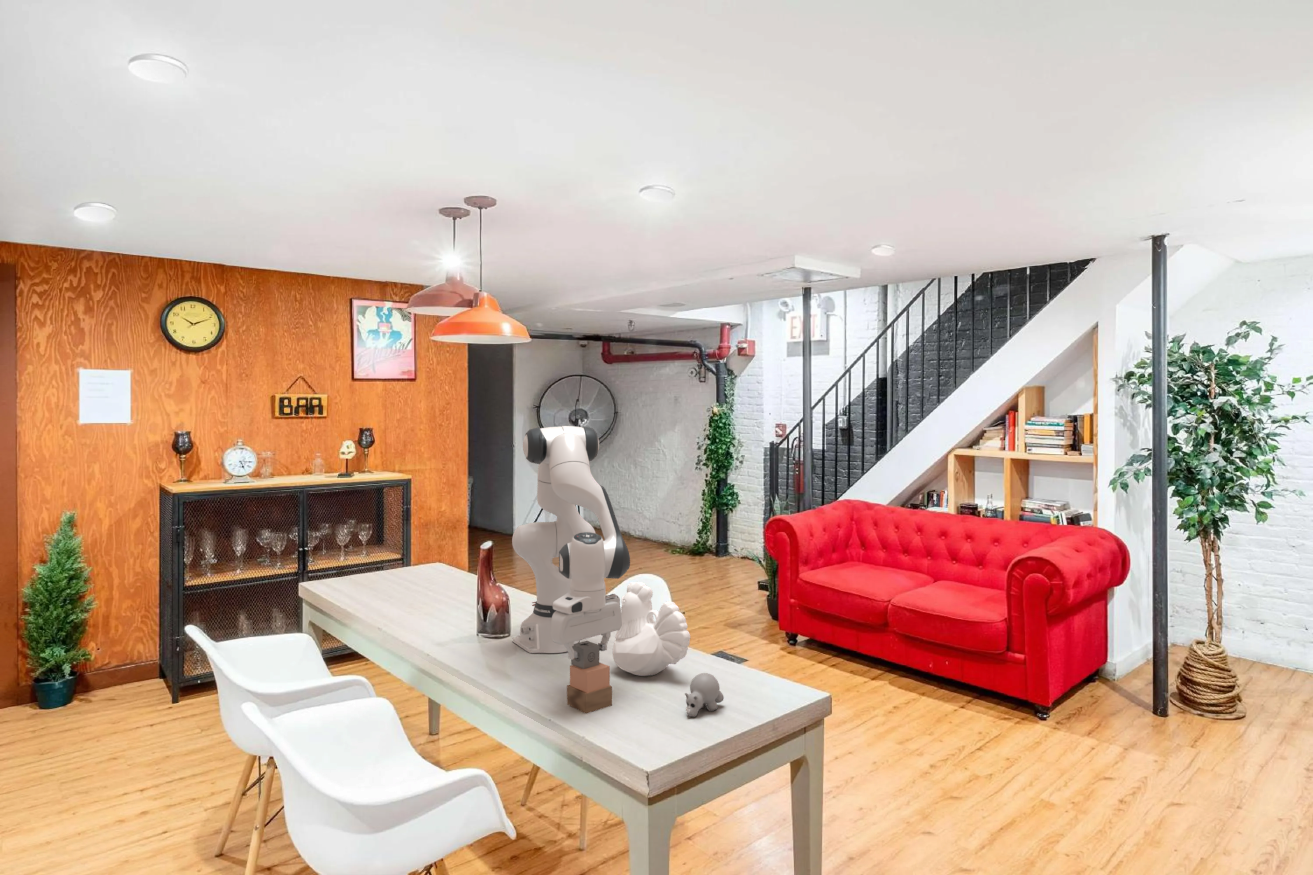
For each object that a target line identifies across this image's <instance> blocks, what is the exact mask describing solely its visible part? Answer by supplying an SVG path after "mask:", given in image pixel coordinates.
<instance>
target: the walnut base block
mask: <svg viewBox="0 0 1313 875" xmlns="http://www.w3.org/2000/svg"><path fill="white" fill-rule="evenodd" d="M566 705H567V706H569V707H571V708H573V709H575V710H577V711H579V712H582V713H584V714H590V713H592V712H593V713H594V712H595V711H598V710H603V709H605V708H608V707H611V706H613V686H612V685H610V686H608V687H605V688H602V689H599V690H596V691H593V692H589V693H586V692H584V691H581V690H579V689H577V688H574V687H572V686H570V684H567V685H566Z"/></svg>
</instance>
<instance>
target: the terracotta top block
mask: <svg viewBox="0 0 1313 875" xmlns="http://www.w3.org/2000/svg"><path fill="white" fill-rule="evenodd" d="M610 670H611V666H610V665H608V664H605V663H603V662H600V661H599V665H597V666H594V667H590V668H586V669H581V668H579V667H576V666H574V665H569V685H570V686H572V687H574V688H577V689H579V690H581V691H584V692H586V693H589V692H593V691H596V690H599V689H602V688H605V687H608V686H611V685H610V678H611V677H610V673H611V672H610Z"/></svg>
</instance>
